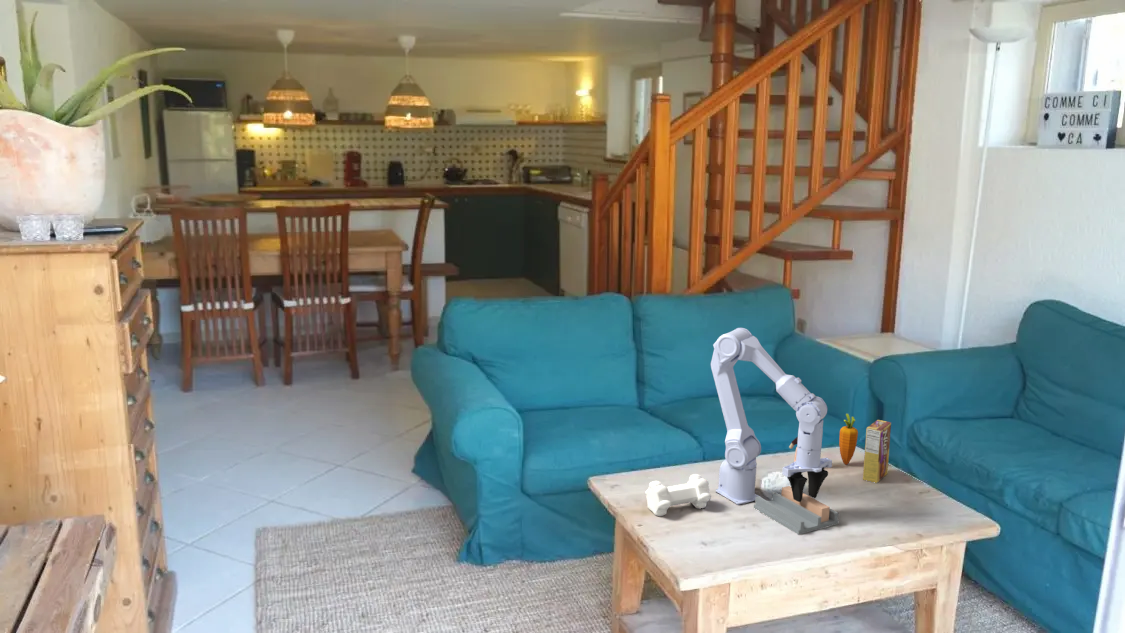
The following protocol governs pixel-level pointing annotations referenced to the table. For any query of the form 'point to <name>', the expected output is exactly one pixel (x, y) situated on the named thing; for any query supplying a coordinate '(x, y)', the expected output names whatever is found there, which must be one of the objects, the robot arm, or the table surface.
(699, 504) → the white bone
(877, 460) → the candy box
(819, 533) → the table surface
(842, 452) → the carrot
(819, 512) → the clay strip
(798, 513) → the rack
